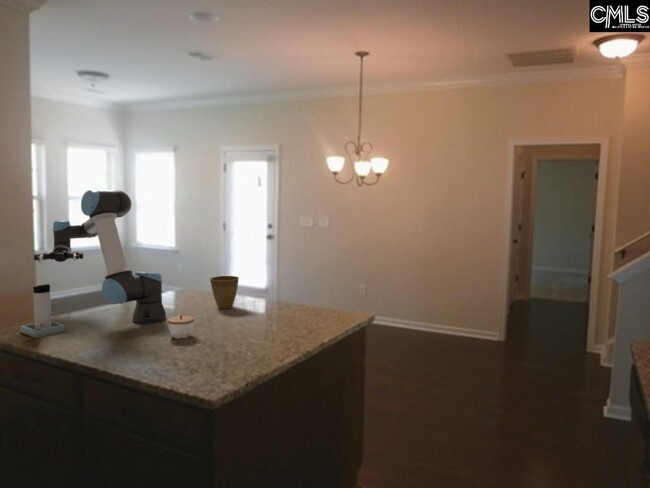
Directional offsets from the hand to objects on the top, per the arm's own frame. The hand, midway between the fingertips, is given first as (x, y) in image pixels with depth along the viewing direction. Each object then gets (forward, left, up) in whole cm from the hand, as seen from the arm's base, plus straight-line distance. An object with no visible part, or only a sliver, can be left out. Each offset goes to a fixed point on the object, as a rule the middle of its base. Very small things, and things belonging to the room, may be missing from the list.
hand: (57, 258), depth 221 cm
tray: (-8, +11, -30) cm, 33 cm away
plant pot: (-34, -70, -30) cm, 83 cm away
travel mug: (-8, +11, -29) cm, 32 cm away
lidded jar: (-60, -21, -30) cm, 70 cm away
